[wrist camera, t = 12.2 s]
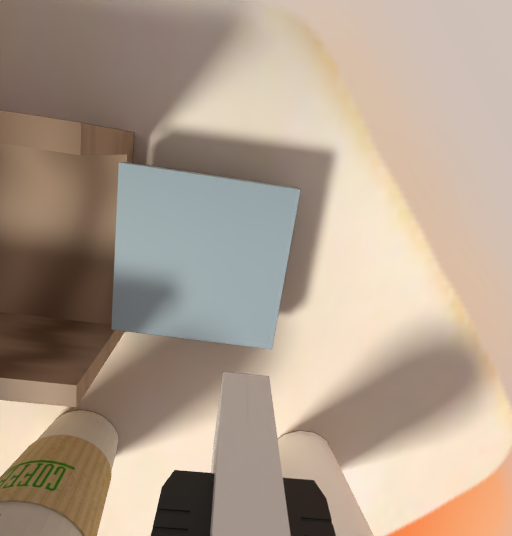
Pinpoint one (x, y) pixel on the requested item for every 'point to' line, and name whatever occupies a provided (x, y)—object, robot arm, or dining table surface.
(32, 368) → the crate
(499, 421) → the dining table surface
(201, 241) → the blue gray square panel
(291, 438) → the foam cup
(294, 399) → the dining table surface
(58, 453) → the coffee cup
